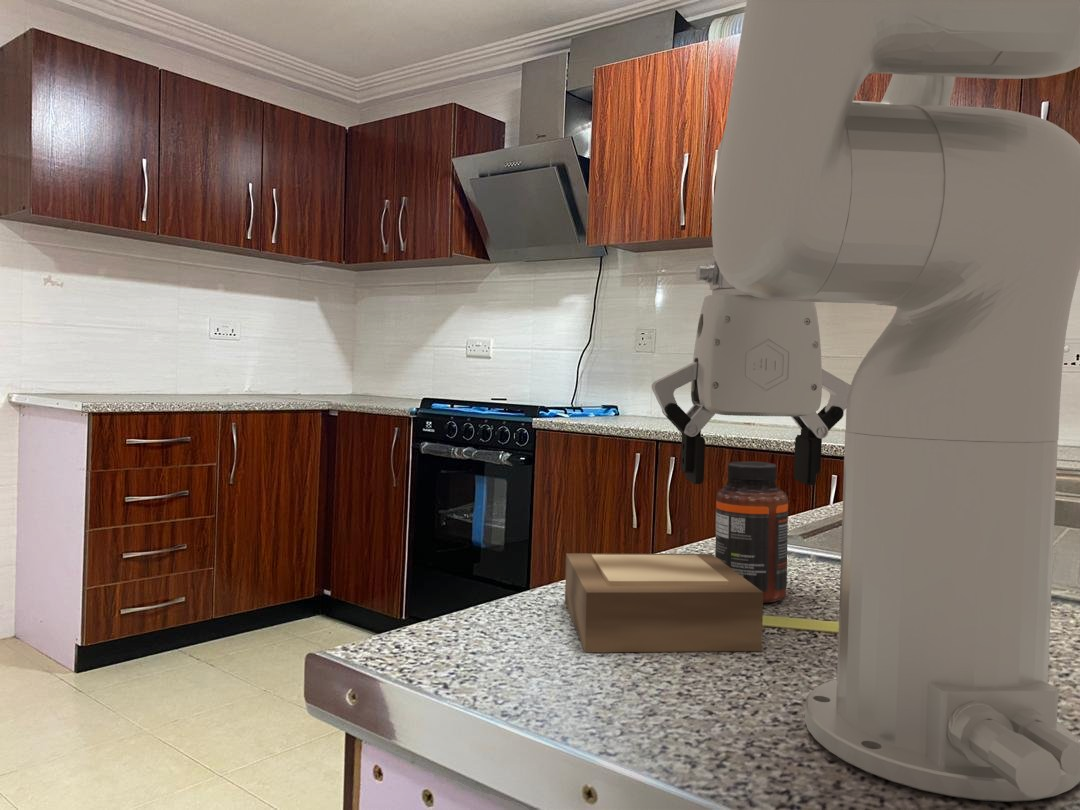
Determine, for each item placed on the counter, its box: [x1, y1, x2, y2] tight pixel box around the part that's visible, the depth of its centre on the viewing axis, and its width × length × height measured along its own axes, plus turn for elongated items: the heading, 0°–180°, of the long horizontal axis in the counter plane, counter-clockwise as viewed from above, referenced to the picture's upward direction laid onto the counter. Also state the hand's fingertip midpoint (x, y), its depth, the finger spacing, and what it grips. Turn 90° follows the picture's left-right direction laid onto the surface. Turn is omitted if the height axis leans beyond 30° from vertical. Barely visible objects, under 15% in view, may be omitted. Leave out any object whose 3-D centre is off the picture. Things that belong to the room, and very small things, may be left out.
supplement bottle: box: [714, 461, 789, 604], centre depth 69 cm, size 6×6×11 cm
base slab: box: [564, 552, 764, 653], centre depth 61 cm, size 12×12×4 cm
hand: (749, 482), depth 70 cm, fingers open, 9 cm apart
